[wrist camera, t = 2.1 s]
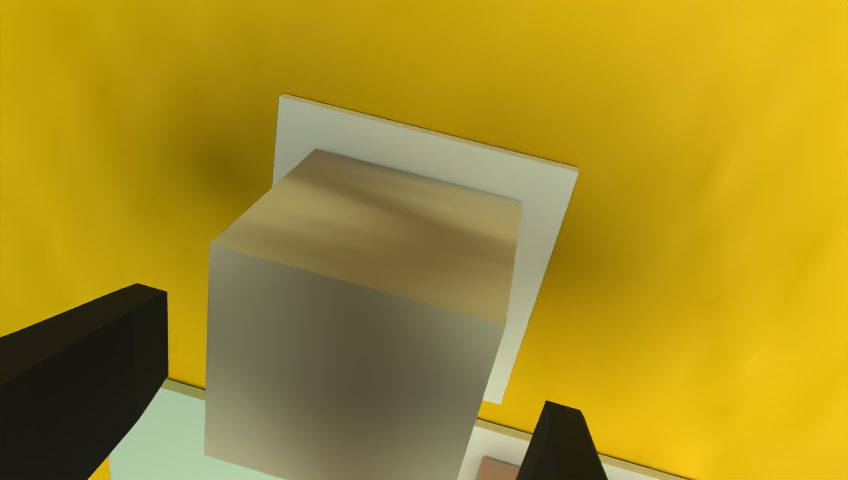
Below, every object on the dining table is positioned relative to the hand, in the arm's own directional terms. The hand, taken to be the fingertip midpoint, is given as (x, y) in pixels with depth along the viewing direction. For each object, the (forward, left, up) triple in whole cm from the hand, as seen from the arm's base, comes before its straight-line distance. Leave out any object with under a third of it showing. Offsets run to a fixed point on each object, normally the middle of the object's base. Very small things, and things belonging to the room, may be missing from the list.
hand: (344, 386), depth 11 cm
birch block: (0, 0, -5) cm, 5 cm away
